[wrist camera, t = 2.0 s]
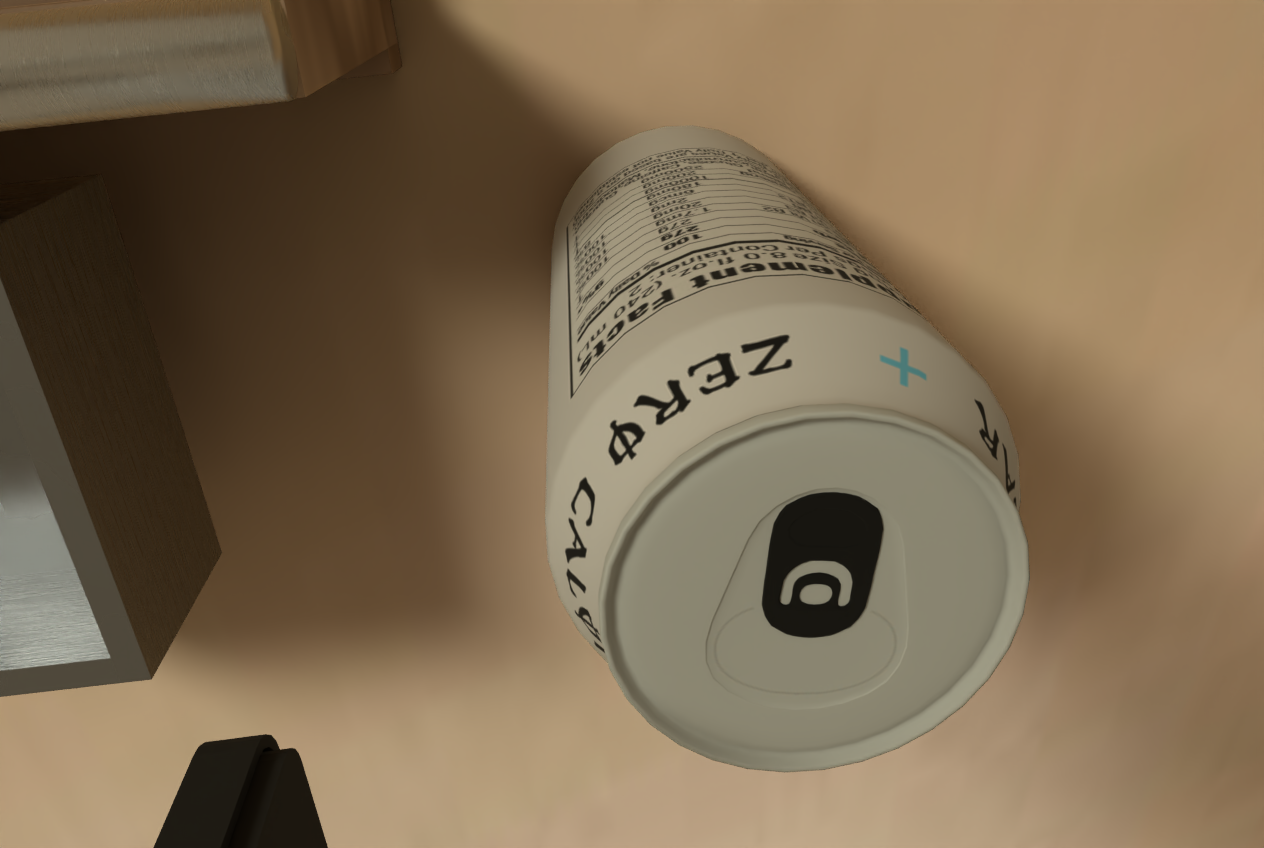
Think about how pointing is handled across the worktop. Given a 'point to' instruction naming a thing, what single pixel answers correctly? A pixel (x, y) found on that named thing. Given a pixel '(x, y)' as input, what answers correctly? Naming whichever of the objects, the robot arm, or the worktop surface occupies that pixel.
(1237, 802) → the worktop surface
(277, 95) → the cup bracket
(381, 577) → the worktop surface
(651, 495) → the energy drink can
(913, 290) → the worktop surface
